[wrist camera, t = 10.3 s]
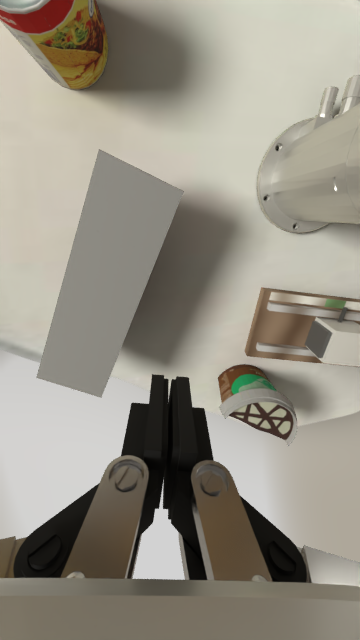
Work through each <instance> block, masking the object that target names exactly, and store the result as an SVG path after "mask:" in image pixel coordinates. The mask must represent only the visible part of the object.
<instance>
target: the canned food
mask: <svg viewBox="0 0 360 640" xmlns="http://www.w3.org/2000/svg"><path fill="white" fill-rule="evenodd" d="M0 21H1V22H2V23H3V24H4V26H5V27H6V28H7V29H8V30H9V31H10V32H11V33H12V35H13V36H14V37H15V38H16V39H17V40H18V41H19V42H20V44H21V45H22V46H23V47H24V48H25V49H26V50H27V52H28V53H29V54H30V55H31V56H32V57H33V58H34V59H35V61H36V62H37V63H38V64H39V65H40V66H41V67H42V69H43V70H44V71H45V72H46V73H47V74H48V75H49V76H50V77H51V79H52V80H54V81H55V82H57V83H58V84H59V85H61V86H63V87H66V88H69V89H75V90H81V89H84V88H88V87H90V86H91V85H93V84H94V83H95V82H97V80H98V79H99V78H100V76H101V75H102V73H103V71H104V68H105V66H106V63H107V57H108V38H107V34H106V30H105V26H104V23H103V20H102V17H101V14H100V11H99V8H98V6H97V3H96V0H0Z"/></svg>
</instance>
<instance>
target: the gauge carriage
mask: <svg viewBox="0 0 360 640" xmlns="http://www.w3.org/2000/svg"><path fill="white" fill-rule="evenodd" d="M347 309H348V308H347V307H343V309H342V312H341V314H340V317H339V319H331V318H322V317H316V319H315V321H313V322H312V325H311V328H310V330H309V333H308V336H307V339H306V342H305V345H306V347H307V348H308V349H309V350H310V351H311V352H312V353H313V354H314V355H315V356H316V357H317V358H318V359H319V360H320V361H321V362H322V363H326V364H336V365H347V366H357V367H360V325H359V324H358V323H356V322H354V321H349V320H343V319H344V317H345V314H346V312H347Z"/></svg>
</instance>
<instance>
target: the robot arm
mask: <svg viewBox="0 0 360 640" xmlns="http://www.w3.org/2000/svg"><path fill="white" fill-rule="evenodd" d="M338 90H339V89H338V88H337V87H328V88H326V89H325V90H324V93H323V97H322V100H321V104H320V105H321V106H320V110H319V114H318V115H316V116H315V118H310V119H306V120H303V121H301V122H298V123H296V124H294V125H293V126H291V127H290V128H288V129H287V130H285V131H284V132H283V133H282V134H281V135H280V136H278V137H277V138H276V140H275V141H274V142H273V143H272V144H271V146H270V147H269V149H268V150H267V152H266V154H265V156H264V158H263V160H262V163H261V165H260V168H259V173H258V178H257V194H258V200H259V203H260V207H261V209H262V211H263V213H264V215H265V216H266V217H267V219H268V220H269V221H270V222H271V223H272V224H274V225H275V226H276V227H278V228H280V229H282V230H285V231H289V232H295V233H305V232H311V231H314V230H317V229H320V228H321V227H323V226H325V225H327V224H329V223H330V222H335V223H352V224H360V75H356V76H353V77H351V78H349V79H348V81H347V84H346V88H345V91H344V94H343V98H342V104H341V107H340V111H339V114H337V115H335V116H334V119H332V118H333V116H332V115H331V112H332V108H333V105H334V104H335V100H336V97H337V93H338ZM275 147H278V151H276V149H275ZM264 197H266V200H265V201H264ZM293 225H295V227H294V228H293ZM163 479H164V489H163V509H168V519H171V524H172V525H173V526H174V527H175V528H176V529H177V531H178V532H179V543H180V550H181V556H182V563H183V569H184V575H185V580H162V579H132V578H133V573H134V569H135V564H136V559H137V554H138V550H139V546H140V541H141V535H142V533H143V532H144V531H145V530H146V529H147V528H148V527H149V526H150V525H151V524H152V523H153V518H154V512H155V508H156V509H157V508H158V509H159V504H160V497H161V492H162V484H163ZM0 640H360V562H356V561H353V560H349V559H347V558H343V557H340V556H337V555H334V554H330V553H327V552H324V551H321V550H317V549H314V548H311V547H308V546H305V545H304V546H303V548H299V547H296V545H295V544H294V543H293V542H292V541H291V540H290V539H289V538H288V537H286V536H285V535H284V534H283V533H282V532H281V531H280V530H279V529H277V528H276V527H275V526H274V525H273V524H272V523H271V522H269V521H268V520H267V519H266V518H265V517H263V515H262V514H260V513H259V512H258V511H257V510H256V509H255V508H254V507H252V506H251V505H250V504H249V503H248V502H247V501H246V500H244V499H243V498H242V497H241V496H240V495H239V493H238V491H237V488H236V485H235V483H234V480H233V477H232V476H231V474H230V472H229V471H228V470H227V469H226V467H225V466H223V465H222V464H220V463H219V462H216V461H214V460H213V455H212V449H211V444H210V438H209V432H208V427H207V421H206V415H205V410H204V408H194V407H192V402H191V393H190V384H189V378H188V377H176V380H174V379H172V381H171V388H170V395H169V402H168V379H164V375H153V374H152V382H151V391H150V401H149V404H140V403H132V404H131V409H130V414H129V419H128V424H127V429H126V434H125V439H124V444H123V449H122V454H121V457H118V458H116V459H115V460H113V461H112V462H111V463H110V464H109V465H108V467H107V468H106V470H105V472H104V474H103V477H102V479H101V481H100V483H99V484H98V485H96V486H95V487H94V488H92V489H91V490H90V491H88V492H87V493H86V494H84V495H83V496H81V497H80V498H79V499H77V500H76V501H74V502H73V503H72V504H70V505H69V506H68V507H66V508H65V509H63V510H62V511H61V512H59V513H58V514H57V515H55V516H54V517H53V518H51V519H50V520H48V521H47V522H46V523H44V524H43V525H42V526H40V527H39V528H37V529H36V530H35V531H34V532H33V533H31V534H30V535H29V536H28V537H26V538H21V539H17V540H16V538H15V536H14V537H9V538H5V539H0Z"/></svg>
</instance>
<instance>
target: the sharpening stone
mask: <svg viewBox="0 0 360 640" xmlns="http://www.w3.org/2000/svg"><path fill="white" fill-rule="evenodd" d="M183 192H184V191H182V190H180V189H178V188H176V187H174V186H172V185H170V184H168V183H166V182H164V181H162V180H160V179H158V178H156V177H154V176H152V175H150V174H148V173H146V172H144V171H142V170H140V169H138V168H136V167H134V166H132V165H130V164H128V163H126V162H124V161H122V160H120V159H118V158H116V157H114V156H112V155H110V154H108V153H106V152H104V151H102V150H100V149H99V151H98V155H97V159H96V162H95V166H94V170H93V173H92V177H91V180H90V184H89V188H88V191H87V195H86V199H85V202H84V206H83V210H82V213H81V217H80V221H79V224H78V228H77V232H76V235H75V239H74V243H73V246H72V250H71V254H70V257H69V261H68V264H67V268H66V272H65V275H64V279H63V283H62V286H61V290H60V294H59V297H58V301H57V305H56V308H55V312H54V316H53V319H52V323H51V327H50V330H49V334H48V338H47V341H46V345H45V348H44V352H43V356H42V359H41V363H40V367H39V370H38V374H37V378H39V379H43V380H46V381H49V382H52V383H56V384H59V385H62V386H65V387H69V388H72V389H75V390H78V391H81V392H85V393H88V394H91V395H94V396H97V397H102V394H103V392H104V389H105V387H106V384H107V382H108V379H109V377H110V374H111V372H112V369H113V367H114V364H115V362H116V359H117V357H118V354H119V352H120V349H121V347H122V344H123V342H124V339H125V337H126V334H127V332H128V329H129V327H130V324H131V322H132V320H133V317H134V315H135V312H136V310H137V307H138V305H139V302H140V300H141V297H142V295H143V292H144V290H145V287H146V285H147V282H148V280H149V277H150V275H151V272H152V270H153V267H154V265H155V262H156V260H157V257H158V255H159V252H160V250H161V247H162V245H163V242H164V240H165V237H166V235H167V232H168V230H169V227H170V225H171V222H172V220H173V217H174V215H175V212H176V210H177V207H178V205H179V202H180V200H181V197H182V195H183Z"/></svg>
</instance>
